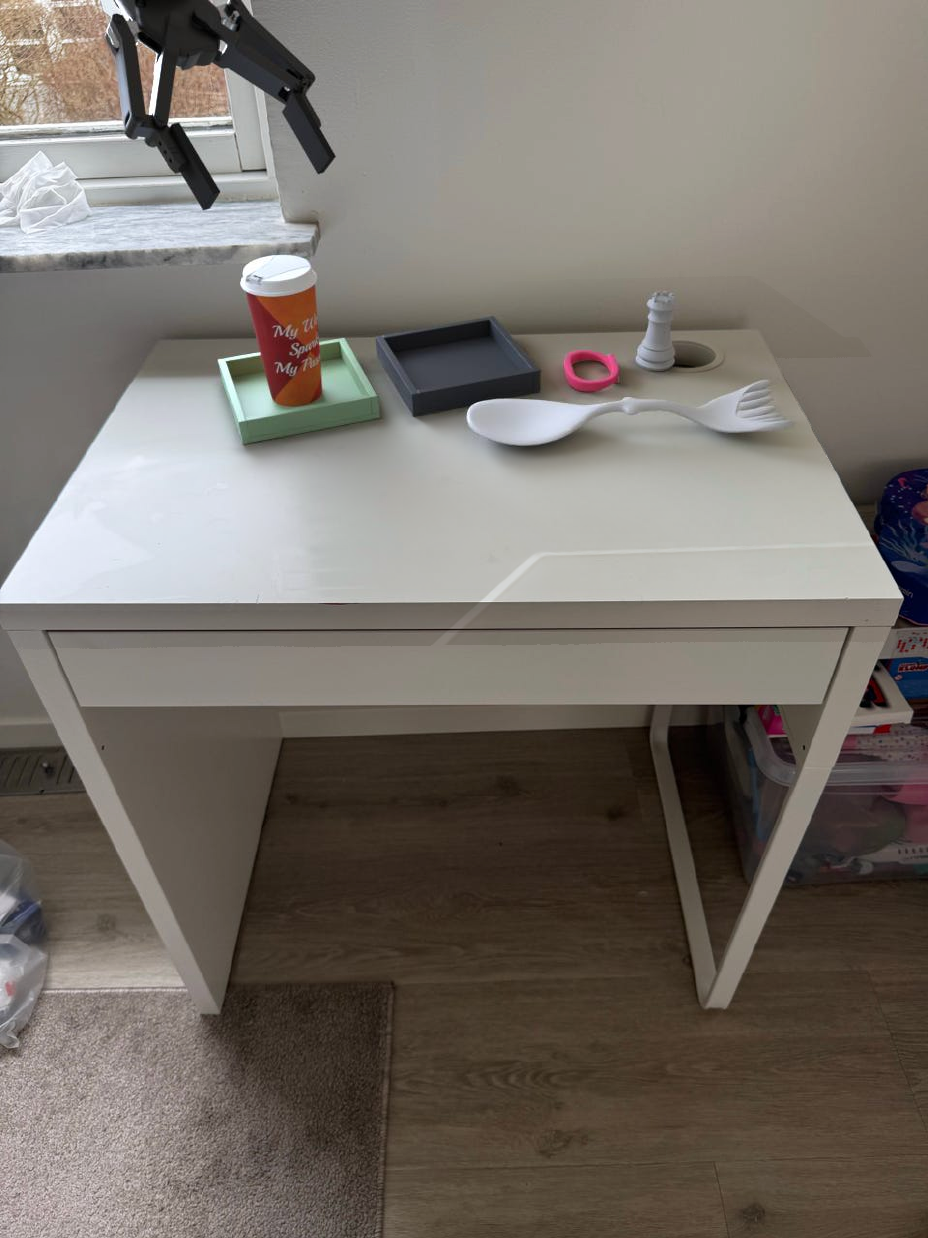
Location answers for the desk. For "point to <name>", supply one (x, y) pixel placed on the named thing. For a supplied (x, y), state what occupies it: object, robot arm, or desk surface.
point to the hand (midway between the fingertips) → (272, 182)
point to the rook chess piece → (658, 334)
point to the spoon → (556, 420)
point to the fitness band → (586, 384)
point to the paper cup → (286, 326)
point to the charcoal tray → (456, 365)
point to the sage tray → (338, 405)
